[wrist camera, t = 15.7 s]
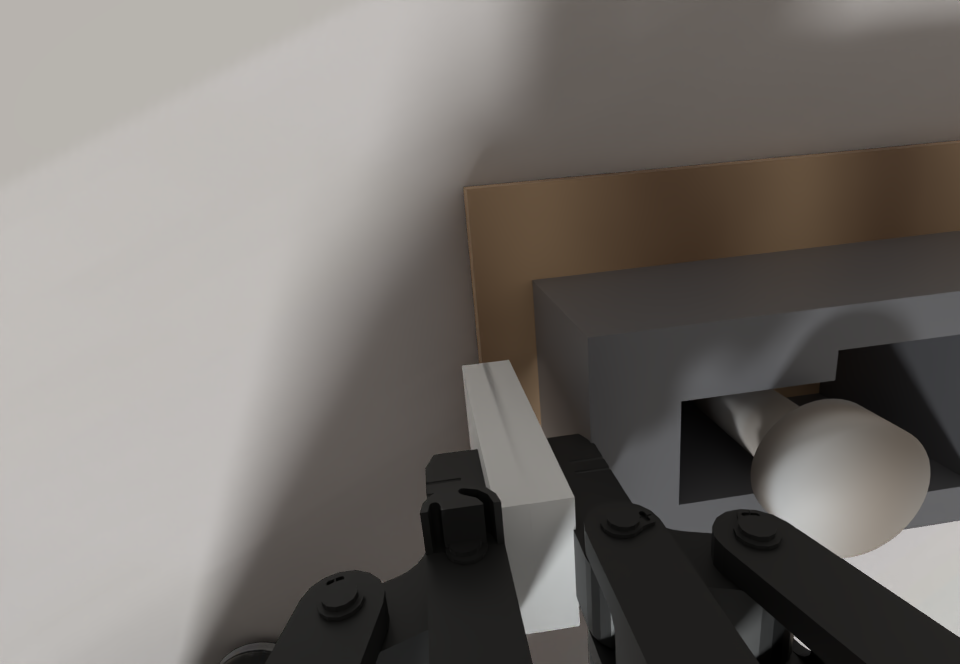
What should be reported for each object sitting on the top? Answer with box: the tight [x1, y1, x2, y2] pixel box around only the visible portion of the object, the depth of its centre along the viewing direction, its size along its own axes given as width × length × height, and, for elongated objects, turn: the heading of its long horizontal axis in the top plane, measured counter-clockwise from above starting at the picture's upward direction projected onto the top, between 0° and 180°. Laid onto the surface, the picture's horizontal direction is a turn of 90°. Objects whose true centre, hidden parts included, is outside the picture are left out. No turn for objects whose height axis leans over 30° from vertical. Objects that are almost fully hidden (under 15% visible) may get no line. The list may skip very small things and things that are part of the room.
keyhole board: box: [463, 140, 960, 558], centre depth 15 cm, size 24×12×8 cm, turn 95°
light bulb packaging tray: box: [532, 231, 960, 533], centre depth 15 cm, size 22×6×6 cm, turn 95°
